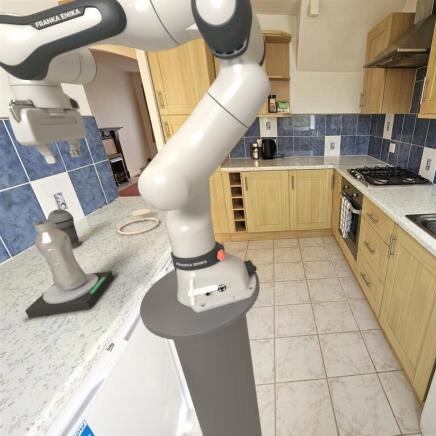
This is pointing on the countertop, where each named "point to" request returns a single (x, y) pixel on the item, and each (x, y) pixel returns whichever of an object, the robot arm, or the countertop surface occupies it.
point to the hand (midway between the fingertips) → (65, 159)
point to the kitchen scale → (71, 296)
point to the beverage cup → (65, 224)
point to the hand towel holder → (141, 214)
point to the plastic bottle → (58, 255)
